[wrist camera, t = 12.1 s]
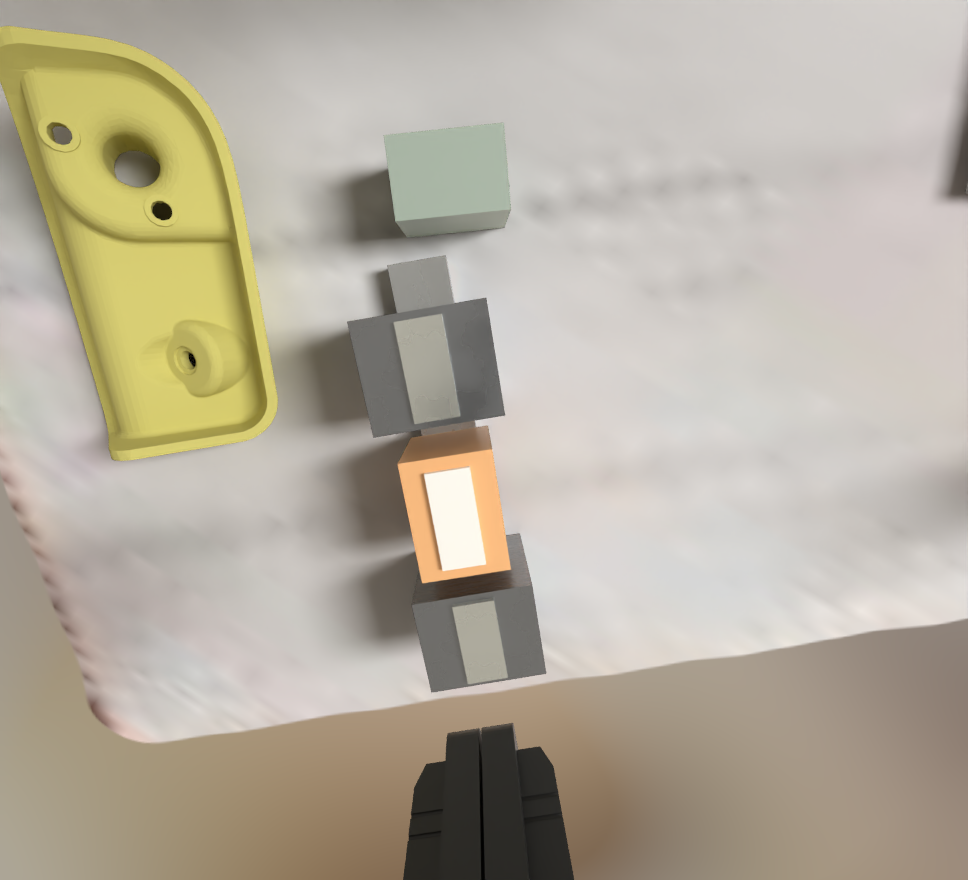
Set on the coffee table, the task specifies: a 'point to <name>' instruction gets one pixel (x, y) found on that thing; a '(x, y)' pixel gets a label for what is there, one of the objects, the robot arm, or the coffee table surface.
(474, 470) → the orange module
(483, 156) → the green block
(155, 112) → the plastic component
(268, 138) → the coffee table surface
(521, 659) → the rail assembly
